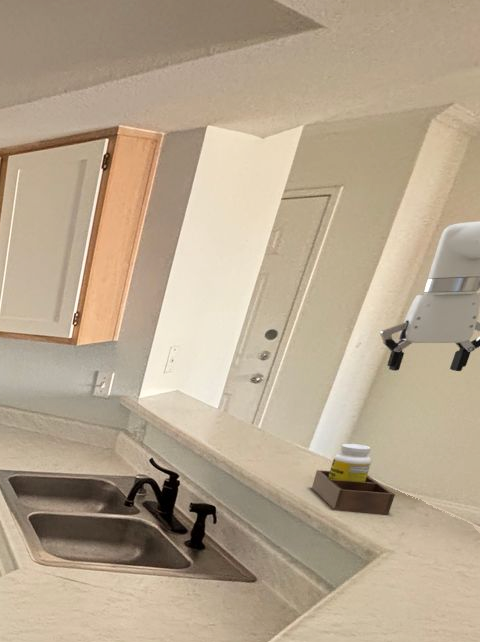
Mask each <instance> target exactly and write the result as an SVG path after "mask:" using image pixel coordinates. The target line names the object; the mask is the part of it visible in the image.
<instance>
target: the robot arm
mask: <svg viewBox="0 0 480 642" xmlns="http://www.w3.org/2000/svg"><path fill="white" fill-rule="evenodd" d="M431 263H432V264H431V266H430V270H429V272H428V276H427V279H426V282H425V286H424V289H423V292H422V294H417V295H416V296H415V297H414V299H413V301H412V302H411V304H410V306H409V309H408V311H407V312H406V315H405V316H404V317H405V318H404V319H403V322H402V323H400V324H397V325H394V326H391V327H388V328H386V329H382V330H381V331H380V332H379V334H380V337H381V339H382V343H383V344H384V345H385V346H386V347H387V348H388V350H389V351H390V355H389V357H388V361H387V367H388V369H389V371H397V372H398V371H399V370H400V368H401V365H402V362H403V358H404V355H405V352H404V351H403V350H404V349H406V348H407V347H409V346H410V345H412V344H456V346H457V347H458V348H459V349H458V350H456V351H455V352H454V355H453V358H452V361H451V364H450V367H449V369H450V370H451V371H454V372H462V370H463V368H465V367H466V366H467V365H468V361H469V358H470V355H471V353H472V352H475V350H476V349H477V348H479V347H480V336H478V337H477V338H475V339H474V340H472V341H471V339H472V337H473V335H474V334H475V331H477V332H480V322H478V318H479V314H480V292H478V291H480V221H469V222H467V221H466V222H459V223H454V224H450V225H448V226H446V227H445V228H444V229H443V231H442V232H441V234H440V237H439V241H438V243H437V247H436V251H435V254H434V257H433V260H432V262H431ZM396 333H398V341H395V340H394V339H393V335H394V334H396Z"/></svg>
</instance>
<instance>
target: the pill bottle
mask: <svg viewBox="0 0 480 642" xmlns="http://www.w3.org/2000/svg"><path fill="white" fill-rule="evenodd" d="M371 448H372V447H371V446H369V445H364V444H358V443H344V444H342V445H341V448H340V452H341V453H337V454H335V455H334V457H333V460H332V463H331V467H330V470H329V471H330V473H329V476H328V478H329V479H331V480H344V481H357V482H365V481H366V477H367V475H368V474H369V471H370V468H371V465H372V459H371V457H370V456H368V455H369V454H370V452H371Z"/></svg>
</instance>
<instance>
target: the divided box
mask: <svg viewBox="0 0 480 642" xmlns="http://www.w3.org/2000/svg"><path fill="white" fill-rule="evenodd" d="M329 473H330V470H319V469H317V470H316V472H315V474H314V478H313V482H312V486H311V490H313V491H314V492H315V494H317V495H318V496H319V497H320V498H321V499H322V500H323V501H324V502H325V503H327V505H329V506H330V507H331V508H332V509H333V510H334V511H343V512H355V513H363V514H364V513H365V514H376V515H389V514H390V511H391V508H392V504H393V502H394V499H395V497H396V493H394V492H393V491H391V490H390V489H388V488H387V487H386V486H384V485H382V484H381V483H379V482H378V481H377V480H375V479H374V478H372V477H371V476H370V475H368V474H367V477H366V481H365V482H357V481H344V480H331V479H329V478H328V476H329Z"/></svg>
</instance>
